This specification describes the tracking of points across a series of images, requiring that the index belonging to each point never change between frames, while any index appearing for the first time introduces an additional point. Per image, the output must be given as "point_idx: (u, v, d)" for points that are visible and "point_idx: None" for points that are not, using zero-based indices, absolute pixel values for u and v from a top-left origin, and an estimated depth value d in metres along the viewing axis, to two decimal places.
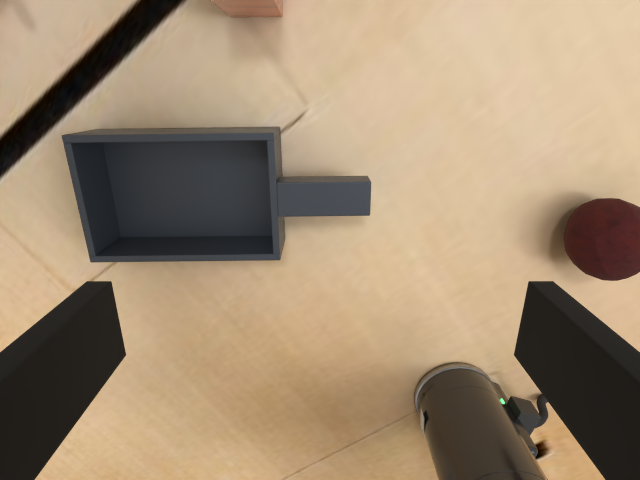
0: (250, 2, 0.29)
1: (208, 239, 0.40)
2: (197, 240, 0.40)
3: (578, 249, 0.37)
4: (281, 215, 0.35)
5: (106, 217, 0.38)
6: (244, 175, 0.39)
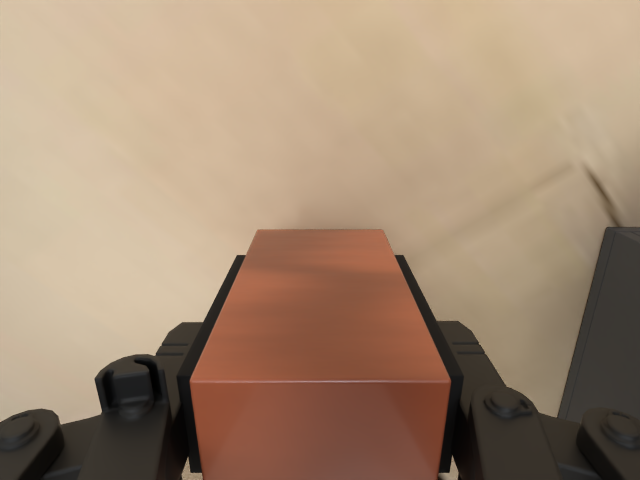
0: None
1: None
2: None
3: None
4: None
5: None
6: None
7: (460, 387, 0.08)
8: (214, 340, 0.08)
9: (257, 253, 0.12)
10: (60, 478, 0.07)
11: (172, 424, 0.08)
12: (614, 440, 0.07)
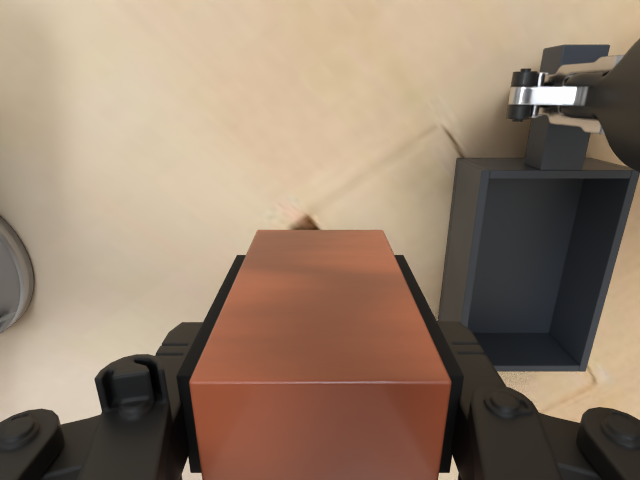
0: None
1: (575, 248, 0.35)
2: (574, 260, 0.35)
3: None
4: (581, 165, 0.28)
5: (530, 344, 0.37)
6: (506, 201, 0.34)
7: (460, 387, 0.08)
8: (214, 341, 0.08)
9: (257, 253, 0.12)
10: (60, 478, 0.07)
11: (172, 424, 0.08)
12: (614, 440, 0.07)
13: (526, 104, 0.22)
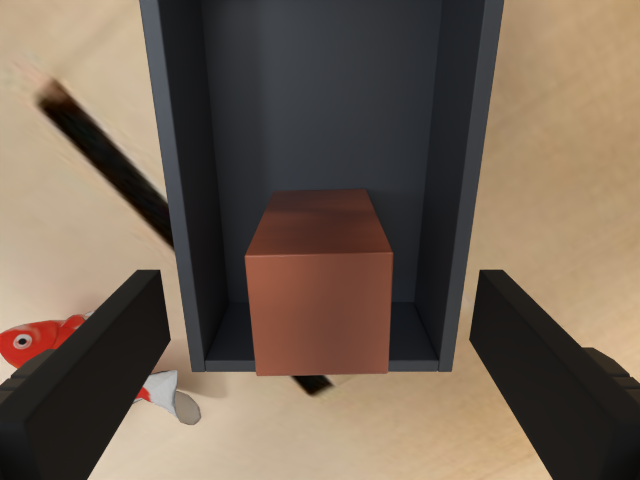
0: None
1: (435, 128, 0.18)
2: (435, 153, 0.18)
3: None
4: None
5: None
6: (293, 32, 0.17)
7: None
8: (255, 241, 0.13)
9: (275, 203, 0.17)
10: None
11: None
12: None
13: None
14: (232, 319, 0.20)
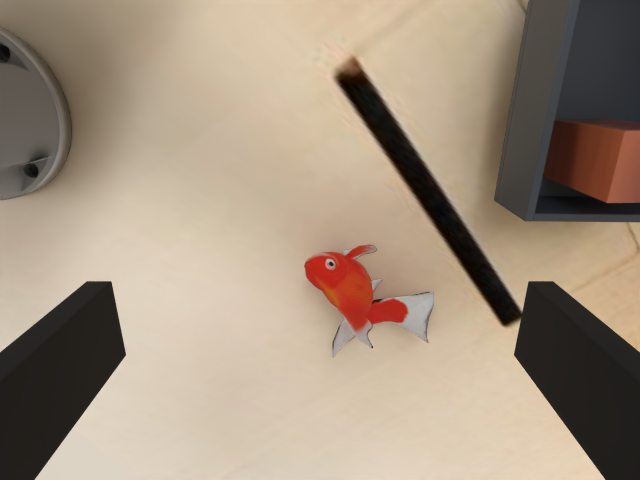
0: None
1: None
2: None
3: None
4: None
5: None
6: (590, 20, 0.29)
7: None
8: (614, 128, 0.25)
9: (574, 121, 0.29)
10: None
11: None
12: None
13: None
14: None
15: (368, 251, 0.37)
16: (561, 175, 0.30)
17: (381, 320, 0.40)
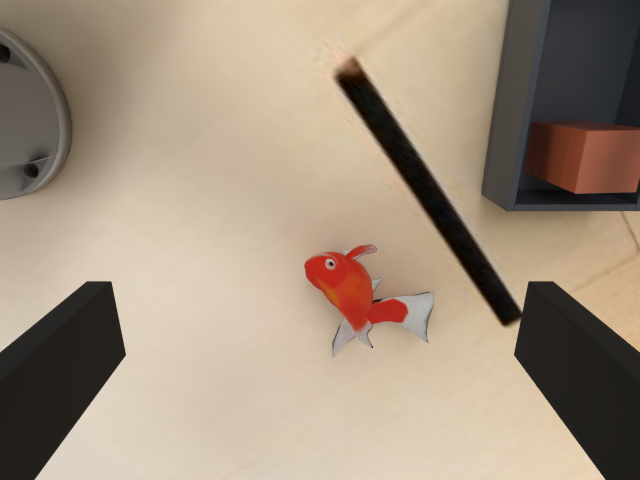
0: None
1: (632, 84, 0.34)
2: (630, 98, 0.34)
3: None
4: None
5: (581, 194, 0.36)
6: (561, 34, 0.33)
7: None
8: (580, 129, 0.29)
9: (549, 123, 0.33)
10: None
11: None
12: None
13: None
14: None
15: (368, 251, 0.37)
16: (539, 171, 0.35)
17: (381, 320, 0.40)
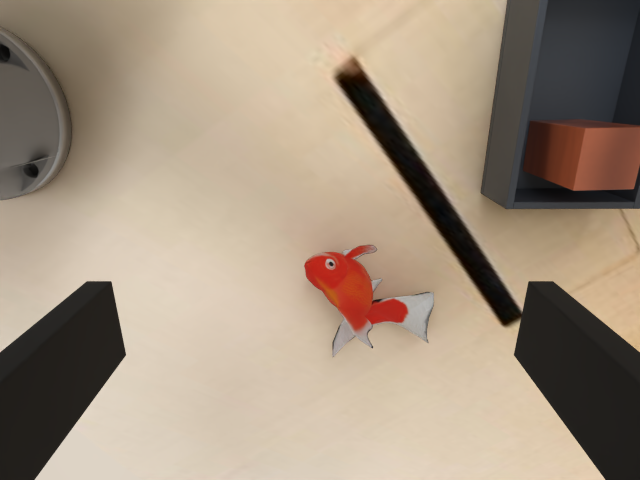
0: None
1: (629, 84, 0.34)
2: (627, 97, 0.34)
3: None
4: None
5: (580, 193, 0.36)
6: (558, 34, 0.33)
7: None
8: (577, 126, 0.29)
9: (547, 122, 0.34)
10: None
11: None
12: None
13: None
14: None
15: (368, 251, 0.37)
16: (537, 169, 0.35)
17: (381, 320, 0.40)
